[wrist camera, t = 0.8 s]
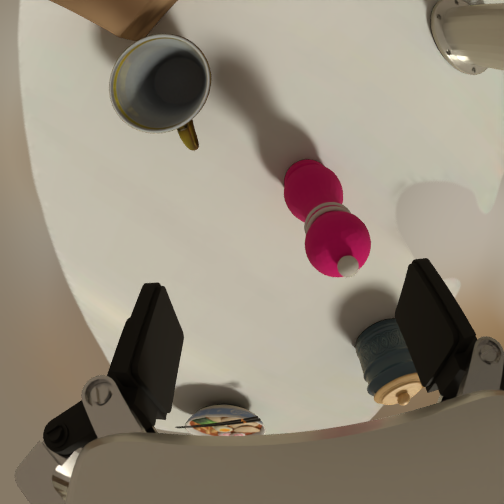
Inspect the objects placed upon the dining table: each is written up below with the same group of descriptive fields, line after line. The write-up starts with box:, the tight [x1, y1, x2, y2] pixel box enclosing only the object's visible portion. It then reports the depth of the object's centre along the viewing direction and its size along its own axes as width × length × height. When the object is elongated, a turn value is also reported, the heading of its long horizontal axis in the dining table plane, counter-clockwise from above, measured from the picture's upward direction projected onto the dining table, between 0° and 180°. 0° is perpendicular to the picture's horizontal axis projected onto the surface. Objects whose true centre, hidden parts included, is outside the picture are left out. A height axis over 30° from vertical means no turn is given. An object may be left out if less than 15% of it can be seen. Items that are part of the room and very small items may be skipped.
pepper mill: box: [284, 159, 371, 277], centre depth 30 cm, size 7×7×20 cm
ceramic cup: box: [109, 34, 211, 150], centre depth 27 cm, size 13×10×10 cm
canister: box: [356, 319, 422, 406], centre depth 51 cm, size 13×13×18 cm
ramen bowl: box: [175, 404, 266, 436], centre depth 73 cm, size 25×23×8 cm
